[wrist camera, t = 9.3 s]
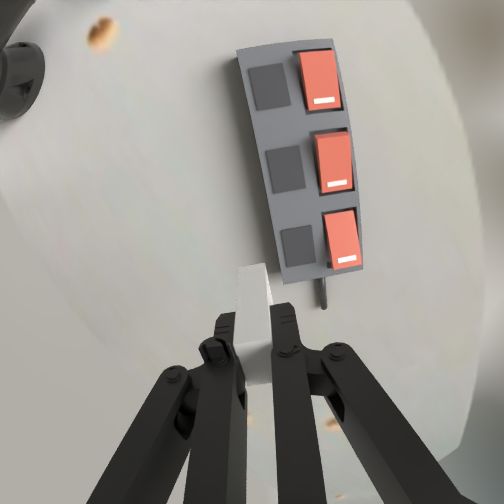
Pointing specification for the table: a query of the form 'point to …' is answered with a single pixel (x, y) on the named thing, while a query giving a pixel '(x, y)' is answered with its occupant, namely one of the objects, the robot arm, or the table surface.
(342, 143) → the rocker
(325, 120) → the power strip
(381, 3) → the table surface
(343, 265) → the rocker
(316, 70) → the rocker
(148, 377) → the table surface
